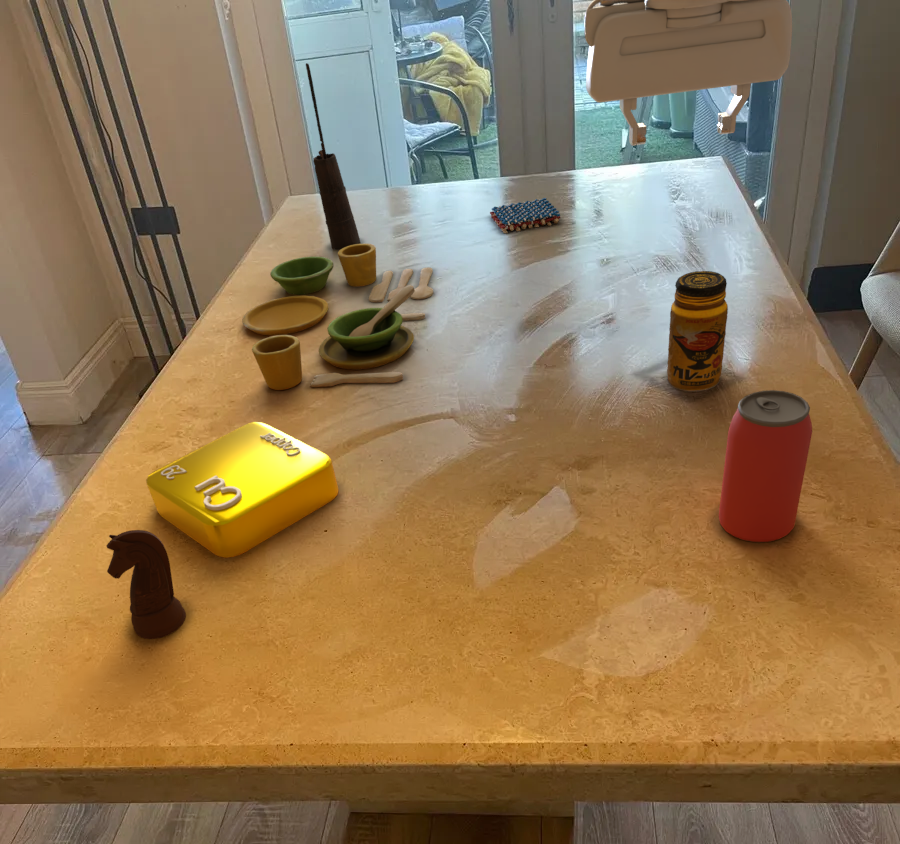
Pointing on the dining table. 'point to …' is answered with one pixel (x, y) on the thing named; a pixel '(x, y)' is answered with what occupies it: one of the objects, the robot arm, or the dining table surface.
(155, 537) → the chess piece
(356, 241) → the butter churn
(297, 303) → the tableware set
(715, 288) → the condiment
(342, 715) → the dining table surface
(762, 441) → the beer can
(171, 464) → the element tile
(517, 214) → the woven mat
